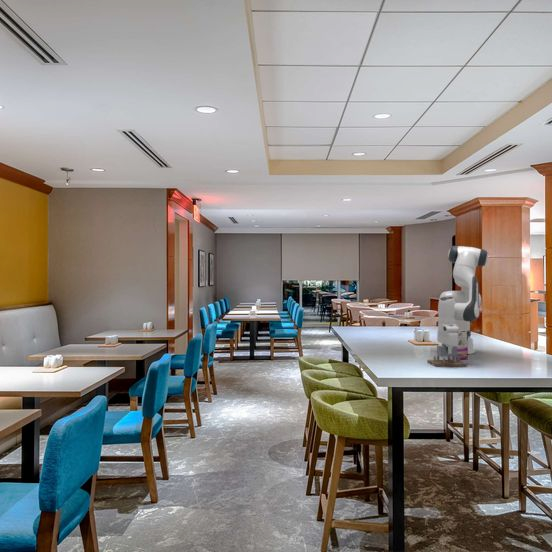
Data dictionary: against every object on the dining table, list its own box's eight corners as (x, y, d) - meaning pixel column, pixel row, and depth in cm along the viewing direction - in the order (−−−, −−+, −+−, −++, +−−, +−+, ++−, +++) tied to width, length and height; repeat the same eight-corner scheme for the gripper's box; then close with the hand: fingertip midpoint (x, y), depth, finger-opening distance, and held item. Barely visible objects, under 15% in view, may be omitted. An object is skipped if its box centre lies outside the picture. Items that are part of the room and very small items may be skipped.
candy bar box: (461, 357, 275) (461, 329, 276) (468, 359, 271) (467, 330, 271) (446, 359, 271) (446, 330, 271) (452, 360, 266) (452, 331, 267)
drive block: (437, 355, 255) (436, 345, 255) (453, 355, 255) (453, 345, 256) (440, 356, 250) (440, 346, 250) (457, 356, 250) (457, 346, 251)
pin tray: (427, 362, 260) (427, 354, 260) (456, 362, 260) (456, 354, 260) (436, 366, 246) (436, 358, 246) (466, 366, 246) (466, 358, 246)
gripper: (434, 325, 263) (434, 350, 263) (448, 328, 243) (448, 355, 243) (445, 325, 263) (445, 350, 263) (460, 328, 243) (460, 355, 243)
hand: (447, 352), depth 253 cm, fingers closed on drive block, 5 cm apart
